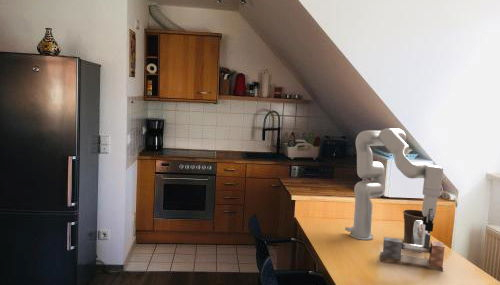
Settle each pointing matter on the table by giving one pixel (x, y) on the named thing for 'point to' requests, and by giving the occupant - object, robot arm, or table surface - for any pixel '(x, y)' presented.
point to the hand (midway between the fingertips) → (427, 227)
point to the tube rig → (394, 256)
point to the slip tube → (418, 247)
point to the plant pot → (411, 223)
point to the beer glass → (419, 233)
